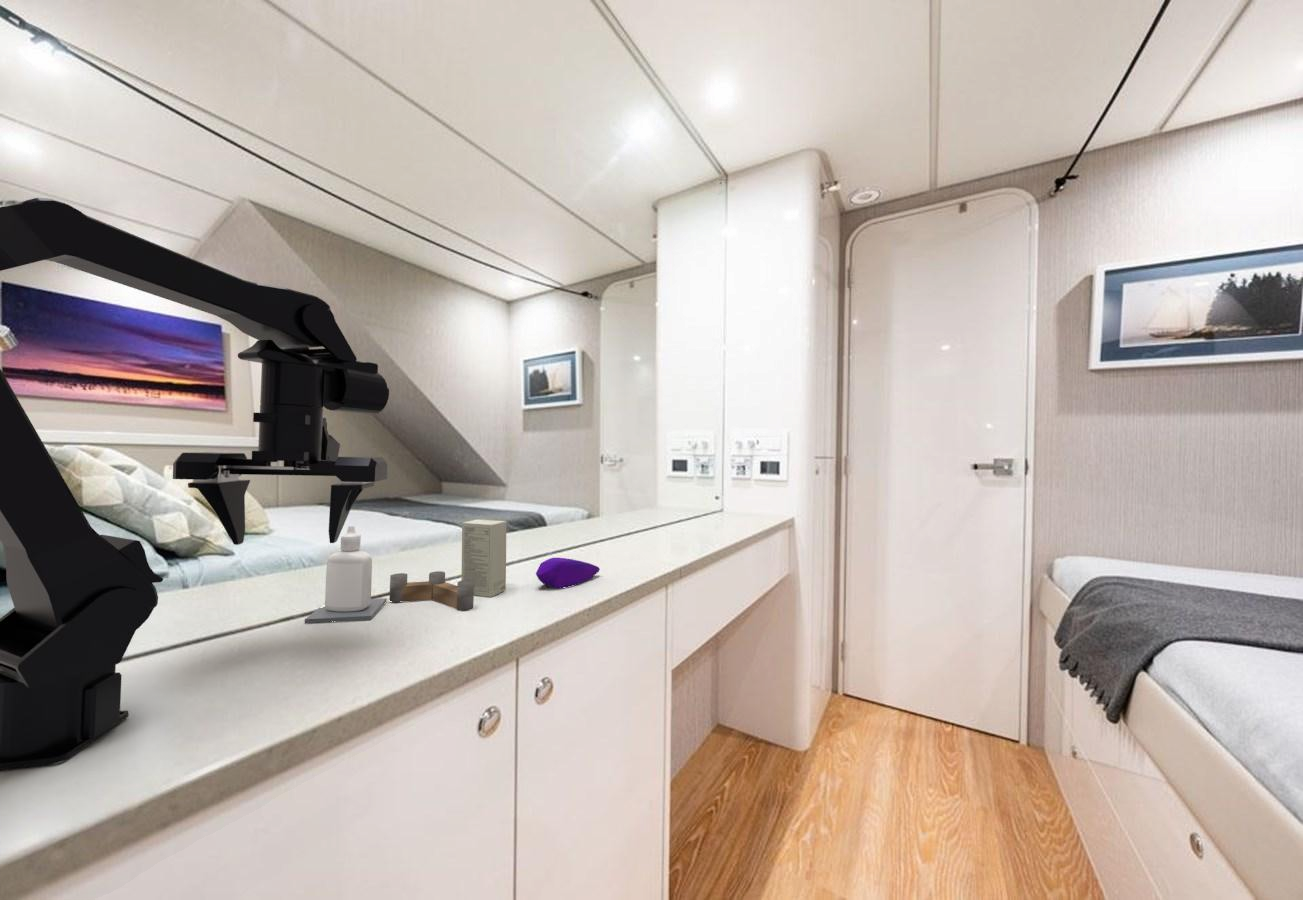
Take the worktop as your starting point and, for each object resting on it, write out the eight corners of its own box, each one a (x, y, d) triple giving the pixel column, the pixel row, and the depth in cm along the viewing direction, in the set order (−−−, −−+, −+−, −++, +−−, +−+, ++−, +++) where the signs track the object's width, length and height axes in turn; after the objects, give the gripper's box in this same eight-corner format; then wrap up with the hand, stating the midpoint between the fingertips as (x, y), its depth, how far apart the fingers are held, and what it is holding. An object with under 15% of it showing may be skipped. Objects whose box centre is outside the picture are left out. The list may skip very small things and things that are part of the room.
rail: (377, 615, 67) (378, 587, 67) (392, 597, 75) (393, 572, 75) (472, 610, 71) (473, 583, 71) (477, 593, 79) (478, 570, 79)
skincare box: (506, 590, 81) (508, 520, 81) (490, 598, 77) (493, 524, 77) (475, 586, 83) (477, 518, 83) (458, 593, 78) (461, 521, 79)
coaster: (304, 623, 63) (304, 619, 63) (327, 604, 71) (327, 600, 71) (370, 620, 65) (371, 615, 65) (386, 602, 73) (386, 598, 73)
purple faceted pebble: (608, 559, 92) (546, 562, 80) (605, 584, 91) (542, 591, 80) (592, 554, 95) (530, 557, 83) (589, 579, 94) (526, 585, 83)
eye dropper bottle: (343, 616, 65) (347, 529, 65) (320, 609, 67) (324, 525, 67) (374, 607, 69) (378, 526, 69) (351, 601, 71) (354, 522, 71)
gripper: (400, 416, 64) (395, 530, 64) (235, 407, 59) (230, 532, 58) (376, 409, 53) (370, 547, 53) (172, 398, 48) (165, 551, 48)
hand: (287, 543), depth 53 cm, fingers open, 9 cm apart
